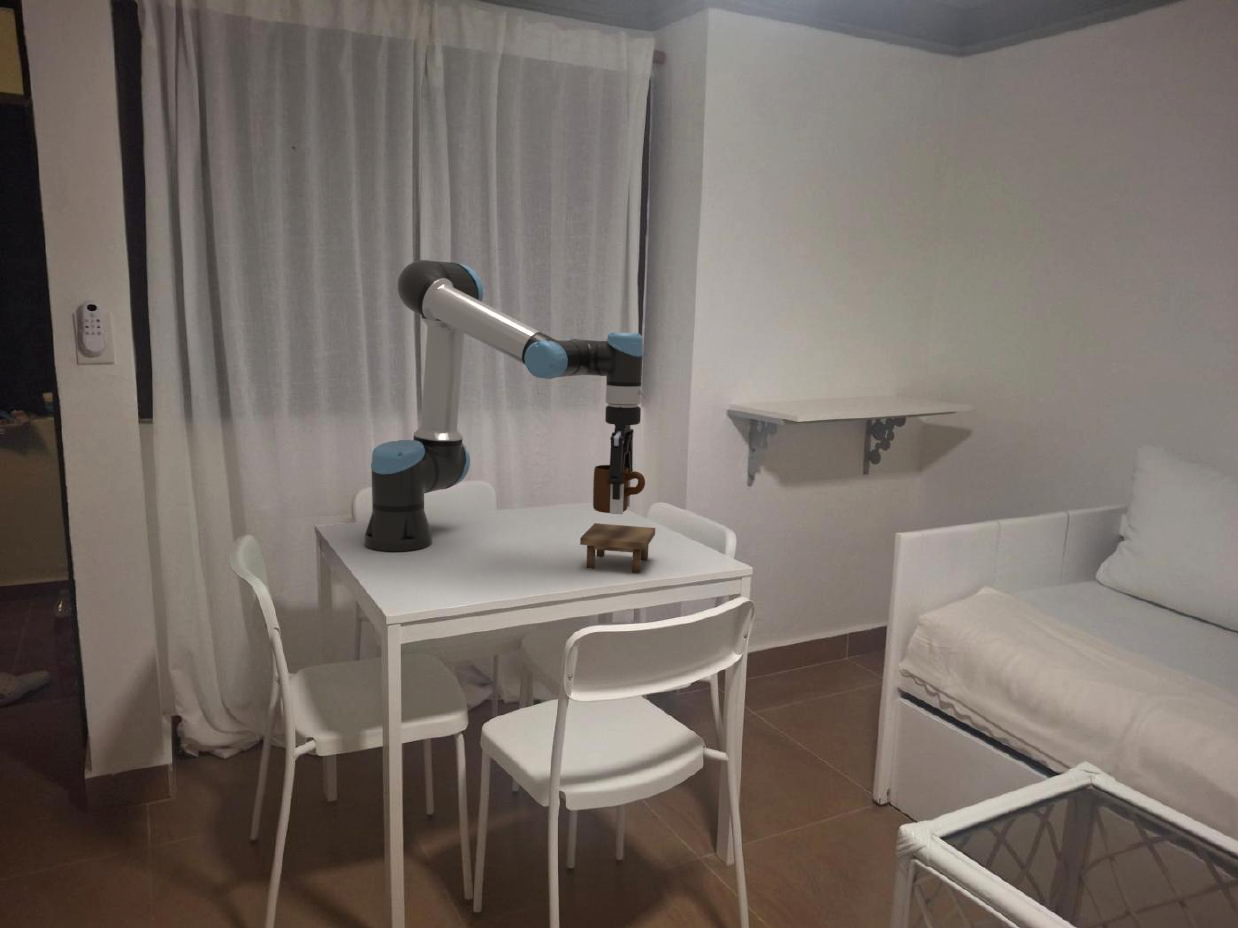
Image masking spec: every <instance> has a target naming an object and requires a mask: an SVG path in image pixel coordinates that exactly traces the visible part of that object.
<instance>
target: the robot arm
mask: <svg viewBox="0 0 1238 928" xmlns="http://www.w3.org/2000/svg"><path fill="white" fill-rule="evenodd" d="M397 293H398V296H399V298H400V300H401V301H402V304H403V305H404V306H405V307H406V308H408V309H409V310H410V311H412V312H414V313H416V314H417V315H419V316H421V317H420V319H421V321H423V323H424V324H425V325H426V327H427V328H426V329H427V330H426V344H425V356H424V357H425V359H424V372H423V387H422V388H423V389H422V403H421V404H422V405H421V419H420V426H419V428H417V430H415V431H413V437H412V438H413V439H401V440H399V439H398V440H392V441H387V442H383V443H381V444H379V445H376V446H375V448H374V449H373V450H372V454H371V463H370V469H371V502H372V507H371V508H372V511H371V515H370V518H369V522H368V523H367V527H366V529H365V533H364V545H365V546H366V547H367V548H368V549H372V550H375V551H380V552H407V551H408V552H409V551H416V550H419V549H420V550H421V549H424V548H427V547H430V546H431V544H432V543H433V533H432V530H431V527H430V523H429V520H428V517H427V515H426V513H425V494H428V493H432V492H437V491H439V490H440V491H441V490H447V489H449V488H451V487H454V486H457V485H458V484H459V483H461V482H462V481H463V480H464V479H466V476H467V474H468V472H469V471H470V466H471V459H470V458H471V456H470V452H469V451H468V450H467V447H466V445H465V444H464V443H463V439H464V438H463V435H462V434H461V433H460V431H459V430H458V420H459V419H458V417H459V408H460V407H459V406H460V405H459V404H460V394H461V381H462V367H463V356H464V355H463V353H464V342H465V341H464V340H465V334H466V335H467V336H470V337H471V338H472V339H473V338H474V339H475V340H477V341H479V342H481V343H483V344H485V345H487V346H489V347H491V348H492V349H494V350H496V351H498V352H500V353H501V354H504V355H505V356H508V357H509V358H512V359H513V360H515V361H518V362H519V363H521V364H523V365H525V367H526V369H527V371H528V372H529V373H530V374H531V375H532V376H534V377H535V378H539V379H546V380H552V379H556V378H564V377H574V376H600V377H606V385H605V403H606V404H607V405H606V406H605V416H604V417H605V423H606V424H609V425H614V429H613V430H614V431H613V432H611V436H610V438H609V439H610V453H609V454H610V455H609V456H610V457H609V465H610V469H609V480H607V484H611V491H610V513H609V514H611V515H621V516H622V515H624V512H623V495H624V484H622V483H623V474H624V466H625V467H627V468H628V473H630V472H633V471H634V469H633V468H634V467H633V465H634V464H633V463H634V462H633V461H634V459H633V457H634V456H633V455H634V452H633V450H634V449H633V447H634V443H633V442H634V429H633V428H631V426H636V425H639V424H640V423H641V413H642V412H641V410H642V408H641V407H640V406H639V405H640V404H641V403H642V401H641V400H642V395H644V394H645V392H644V390H641V389H642V377H643V376H642V375H643V357H644V352H643V351H644V349H643V346H644V345H643V337H642V335H641V334H640V333H638V332H622V331H621V332H619V331H618V332H617V331H614V332H613V331H611V332H609V333H608V334H607V339H606V340H589V339H578V338H570V339H562V340H558V339H556V338H553V337H551V336H549V335H547V334H545V333H543V332H541V331H540V330H537V329H536V328H534V327H532V326H529V325H528V324H525V323H524V322H522V321H520V320H518V319H516V318H514V317H513V316H511V315H508V314H507V313H504V312H502V311H500V310H498V309H496V308H494V307H492V306H491V305H488V304H487V303H485V302H483V299H484V287H483V284H482V280H481V278H480V277H479V275H478V274H477V272H476V271H475V270H474V269H472V268H471V267H470V266H468V265H465V264H460V263H458V262H450V261H449V262H448V261H436V260H428V259H419V260H415V261H412V262H410V263H409V264H407V265H406V267H404V268H403V270H402V271H401V272H400V275H399V276H398V280H397ZM631 481H632V480H629V481H628V487H631ZM629 507H631V495H630V496H628V505H627V508H629Z"/></svg>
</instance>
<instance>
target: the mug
mask: <svg viewBox="0 0 1238 928" xmlns="http://www.w3.org/2000/svg"><path fill="white" fill-rule="evenodd" d="M609 469H610V464H603V465H602V464H601V465H596V466H594V469H593V471H594V472H593V483H592V485H593V487H592V493H593V495H592V507H593V509H594V510H595V511H596V512H598V513H603V514H604V513H605V514H610V491H611V484H607V480H609ZM634 479H635V480H636V479H637V484H636V485H635V486H630V487H628V481H629V480H631V481H632V480H634ZM622 484H624V495H623V513H624V512H626V511H627V509H628V507H627V505H628V496H630V497H631V496H635V495H639V494H640V493H641V492H642V491H643V490H644V489H645V487H646V486H645V485H646V479H645V476H644V475H643V474H642V473H641V472H639V471H634V470H633V471H632V472H630V473H628V468H627V467H625V466H624V474H623V483H622Z"/></svg>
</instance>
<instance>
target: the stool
mask: <svg viewBox="0 0 1238 928" xmlns="http://www.w3.org/2000/svg"><path fill="white" fill-rule="evenodd" d="M655 535H656V527H648V526H647V527H646V526H635V525H624V524H623V525H620V524H611V523H610V524H609V523H596V522H595V523H593V524H592V525H591V526H590V528H588V529H587V530H586V531H585V533H584V534H582V536H580V539H579V545H581V546H586V569H589V570H593V569H594V570H595V568H596V557H597V558H605V551H607V552H608V551H609V552H621V553H622V552H623V553H632V564H631V565H632V566H631V572H632V573H633V574H640V573H641V572H642V571H641V568H642V567H641V566H642V565H641V564H642V561H643V562H646V561H648V560H649V547H650V546H649V545H650V544H651V542H652V540H653V539H654V537H655Z"/></svg>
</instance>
